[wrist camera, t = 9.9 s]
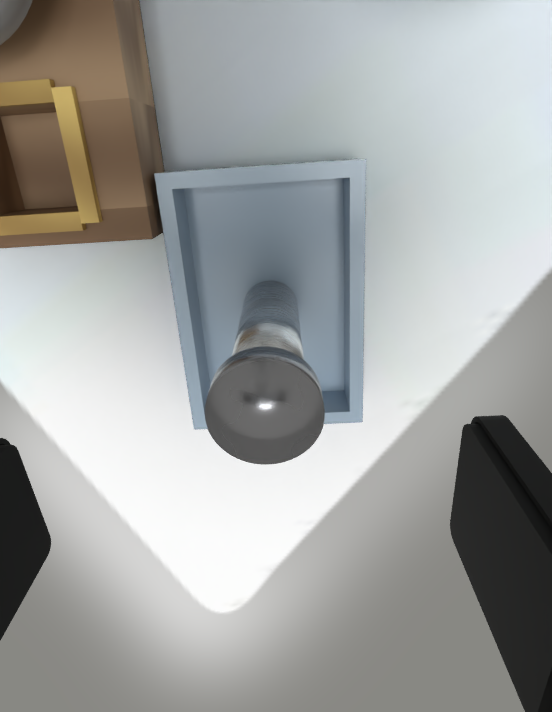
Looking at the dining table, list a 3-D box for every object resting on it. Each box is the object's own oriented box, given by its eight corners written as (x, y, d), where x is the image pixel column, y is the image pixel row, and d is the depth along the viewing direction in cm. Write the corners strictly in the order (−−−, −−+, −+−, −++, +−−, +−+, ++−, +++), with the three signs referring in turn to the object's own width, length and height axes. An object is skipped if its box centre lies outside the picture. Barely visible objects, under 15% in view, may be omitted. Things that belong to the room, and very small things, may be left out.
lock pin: (231, 273, 25) (196, 365, 15) (305, 269, 25) (323, 358, 14) (238, 342, 26) (212, 466, 16) (308, 338, 26) (326, 461, 16)
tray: (170, 171, 23) (154, 173, 21) (356, 159, 23) (366, 159, 20) (203, 402, 29) (194, 429, 26) (354, 395, 28) (362, 422, 25)
